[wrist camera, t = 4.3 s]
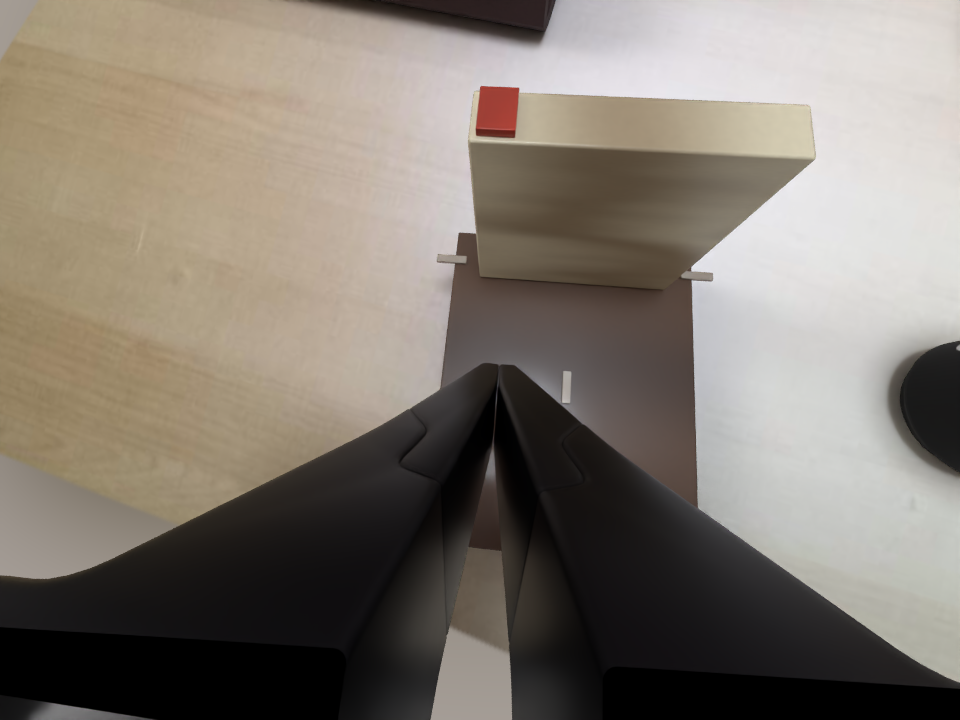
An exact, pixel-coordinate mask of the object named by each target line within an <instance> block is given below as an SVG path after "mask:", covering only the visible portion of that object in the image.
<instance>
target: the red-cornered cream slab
mask: <svg viewBox="0 0 960 720" xmlns="http://www.w3.org/2000/svg"><path fill="white" fill-rule="evenodd" d="M468 147H469V158H470V169H471V181H472V192H473V203H474V215H475V226H476V237H477V249H478V260H479V271H480V276H481V277H492V278H506V279H520V280H534V281H548V282H562V283H576V284H590V285H604V286H618V287H632V288H646V289H660V290H665V289H666V288H667V287H668V286H670V285H671V284H672V283H673V282H674V281H675V280H677V279H678V278H679V277H680V276H681V275H682V274H683V273H685V272H686V271H687V270H688V269H689V268H690V267H692V266H693V265H694V264H695V263H696V262H697V261H698V260H700V259H701V258H702V257H703V256H704V255H705V254H707V253H708V252H709V251H710V250H711V249H712V248H713V247H715V246H716V245H717V244H718V243H719V242H720V241H721V240H723V239H724V238H725V237H726V236H727V235H728V234H730V233H731V232H732V231H733V230H734V229H735V228H736V227H738V226H739V225H740V224H741V223H742V222H743V221H745V220H746V219H747V218H748V217H749V216H750V215H751V214H753V213H754V212H755V211H756V210H757V209H758V208H760V207H761V206H762V205H763V204H764V203H765V202H766V201H768V200H769V199H770V198H771V197H772V196H773V195H775V194H776V193H777V192H778V191H779V190H780V189H781V188H783V187H784V186H785V185H786V184H787V183H788V182H789V181H791V180H792V179H793V178H794V177H795V176H796V175H798V174H799V173H800V172H801V171H802V170H803V169H804V168H806V167H807V166H808V165H809V164H810V163H811V162H813V161H814V160H815V158H816V153H815V145H814V136H813V127H812V118H811V109H810V106H809V105H797V104H773V103H750V102H726V101H702V100H679V99H655V98H632V97H608V96H584V95H561V94H537V93H519V88H511V87H487V86H481V87H480V91H475V92H474V95H473V103H472V111H471V120H470V128H469V136H468Z"/></svg>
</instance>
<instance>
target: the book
mask: <svg viewBox="0 0 960 720" xmlns="http://www.w3.org/2000/svg"><path fill="white" fill-rule="evenodd" d="M378 1H384V2H389V3H394V4H400V5H405V6H411V7H416V8H421V9H427V10H432V11H438V12H443V13H448V14H454V15H459V16H465V17H470V18H475V19H481V20H486V21H491V22H497V23H502V24H508V25H513V26H518V27H524V28H529V29H535V30H540V31H545V30H546V28H547V25H548V23H549V20H550V17H551V13H552V10H553V7H554V4H555V1H556V0H378Z"/></svg>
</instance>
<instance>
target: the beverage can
mask: <svg viewBox="0 0 960 720" xmlns="http://www.w3.org/2000/svg"><path fill="white" fill-rule="evenodd" d="M900 404H901V410H902V413H903V417H904V419H905V421H906V423H907V426H908V427H909V429H910V431H911V433H912V434H913V435H914V437H915V438H916V439H917V440H918V441H919V442H920V444H921V445H922V446H923V447H924V448H926V449H927V450H928V451H929V452H931V453H932V454H933V455H935V456H936V457H937V458H939V459H940V460H941V461H943V462H944V463H945V464H947V465H948V466H950V467H952V468H953V469H955V470H957V471H959V472H960V341H956V342H952V343H947V344H943V345H940V346H938V347H935V348H933V349H931V350H929V351H928V352H926V353H925V354H923V355H922V356H921V357H920V358H919V359H918V360H917V361H916V362H915V364H914V365H913V367H912V368H911V370H910V371H909V373H908V374H907V376H906V377H905V379H904V382H903V384H902V387H901V394H900Z"/></svg>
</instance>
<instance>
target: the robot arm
mask: <svg viewBox="0 0 960 720" xmlns="http://www.w3.org/2000/svg"><path fill="white" fill-rule="evenodd" d="M498 373H499V375H498ZM497 386H498V388H497ZM496 398H497V401H496ZM495 411H496V414H495ZM494 424H495V427H494ZM493 437H494V460H495V473H496V486H497V498H498V511H499V524H500V537H501V549H502V562H503V575H504V587H505V600H506V613H507V626H508V638H509V643H510V644H509V651H510V665H511V686H512V687H511V688H512V720H960V683H959V682H956V681H954V680H951V679H949V678H946V677H944V676H942V675H941V674H939V673H937V672H935V671H933V670H931V669H929V668H927V667H925V666H923V665H921V664H920V663H918V662H916V661H915V660H913V659H912V658H910V657H909V656H907V655H906V654H904V653H902V652H901V651H899V650H898V649H896V648H895V647H893V646H892V645H890V644H889V643H888V642H886V641H885V640H883V639H882V638H881V637H879V636H878V635H876V634H875V633H873V632H872V631H871V630H869V629H868V628H866V627H865V626H864V625H862V624H861V623H859V622H858V621H856V620H855V619H854V618H852V617H851V616H849V615H848V614H847V613H845V612H844V611H842V610H841V609H840V608H838V607H837V606H835V605H834V604H832V603H831V602H830V601H828V600H827V599H825V598H824V597H823V596H821V595H820V594H818V593H817V592H815V591H814V590H813V589H811V588H810V587H808V586H807V585H806V584H804V583H803V582H801V581H800V580H798V579H797V578H796V577H794V576H793V575H791V574H790V573H789V572H787V571H786V570H784V569H783V568H781V567H780V566H779V565H777V564H776V563H774V562H773V561H772V560H770V559H769V558H767V557H766V556H764V555H763V554H762V553H760V552H759V551H757V550H756V549H755V548H753V547H752V546H750V545H749V544H747V543H746V542H745V541H743V540H742V539H740V538H739V537H738V536H736V535H735V534H733V533H732V532H730V531H729V530H728V529H726V528H725V527H723V526H722V525H721V524H719V523H718V522H716V521H715V520H713V519H712V518H711V517H709V516H708V515H706V514H705V513H704V512H702V511H701V510H699V509H698V508H696V507H695V506H694V505H692V504H691V503H689V502H688V501H687V500H685V499H684V498H682V497H681V496H679V495H678V494H677V493H675V492H674V491H672V490H671V489H670V488H668V487H667V486H665V485H664V484H662V483H661V482H660V481H658V480H657V479H655V478H654V477H653V476H651V475H650V474H648V473H647V472H645V471H644V470H643V469H641V468H640V467H638V466H637V465H636V464H634V463H633V462H631V461H630V460H629V459H627V458H626V457H625V456H623V455H622V454H621V453H619V452H618V451H616V450H615V449H614V448H612V447H611V446H610V445H609V444H607V443H606V442H605V441H604V440H603V439H601V438H600V437H599V436H598V435H596V434H595V433H594V432H593V431H592V430H590V429H589V428H588V427H587V426H586V425H584V424H582V423H581V422H580V421H579V420H578V419H577V418H576V417H575V416H573V415H572V414H571V413H570V412H569V411H568V410H566V409H565V408H564V407H563V406H562V405H561V404H560V403H558V402H557V401H556V400H555V399H554V398H553V397H551V396H550V395H549V394H548V393H547V392H546V391H545V390H543V389H542V388H541V387H540V386H539V385H538V384H536V383H535V382H534V381H533V380H532V379H531V378H530V377H528V376H527V375H526V374H525V373H524V372H523V371H521V370H520V369H519V368H518V367H517V366H515V365H507V364H501V365H500V366H499V365H498V364H494V363H482V364H480V365H479V366H477V367H476V368H474V369H473V370H471V371H469V372H468V373H466V374H465V375H463V376H461V377H460V378H458V379H457V380H455V381H453V382H452V383H450V384H449V385H447V386H445V387H444V388H442V389H441V390H439V391H437V392H436V393H434V394H433V395H431V396H430V397H428V398H426V399H425V400H423V401H422V402H420V403H418V404H417V405H415V406H414V407H412V408H410V409H408V410H406V411H405V412H403V413H401V414H400V415H398V416H396V417H395V418H393V419H391V420H390V421H388V422H386V423H384V424H383V425H381V426H379V427H377V428H375V429H374V430H372V431H370V432H368V433H366V434H364V435H362V436H360V437H358V438H356V439H354V440H352V441H350V442H348V443H346V444H344V445H342V446H340V447H338V448H336V449H334V450H332V451H330V452H328V453H326V454H324V455H322V456H320V457H318V458H316V459H314V460H312V461H310V462H308V463H306V464H304V465H301V466H299V467H297V468H295V469H293V470H291V471H289V472H287V473H285V474H283V475H281V476H279V477H277V478H275V479H273V480H271V481H269V482H267V483H265V484H263V485H261V486H259V487H257V488H255V489H253V490H251V491H249V492H247V493H245V494H243V495H241V496H239V497H237V498H235V499H233V500H231V501H229V502H227V503H224V504H222V505H220V506H218V507H216V508H214V509H212V510H210V511H208V512H206V513H204V514H202V515H200V516H198V517H196V518H194V519H192V520H190V521H188V522H186V523H184V524H182V525H180V526H178V527H176V528H174V529H172V530H170V531H168V532H166V533H164V534H162V535H160V536H158V537H156V538H154V539H152V540H150V541H147V542H146V543H143V544H141V545H139V546H137V547H135V548H133V549H131V550H129V551H127V552H125V553H123V554H121V555H119V556H117V557H115V558H113V559H111V560H109V561H106V562H104V563H102V564H99V565H97V566H95V567H92V568H90V569H87V570H83V571H81V572H77V573H74V574H71V575H67V576H61V577H57V578H51V579H30V578H21V577H13V576H0V720H430V719H431V713H432V708H433V703H434V697H435V692H436V686H437V680H438V675H439V671H440V665H441V661H442V656H443V652H444V647H445V643H446V635H447V634H448V630H449V626H450V622H451V618H452V614H453V609H454V605H455V601H456V597H457V593H458V588H459V584H460V580H461V576H462V572H463V567H464V563H465V559H466V555H467V551H468V546H469V542H470V538H471V534H472V530H473V525H474V521H475V517H476V513H477V509H478V504H479V500H480V496H481V492H482V488H483V483H484V479H485V475H486V471H487V467H488V463H489V458H490V454H491V450H492V445H493Z"/></svg>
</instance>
